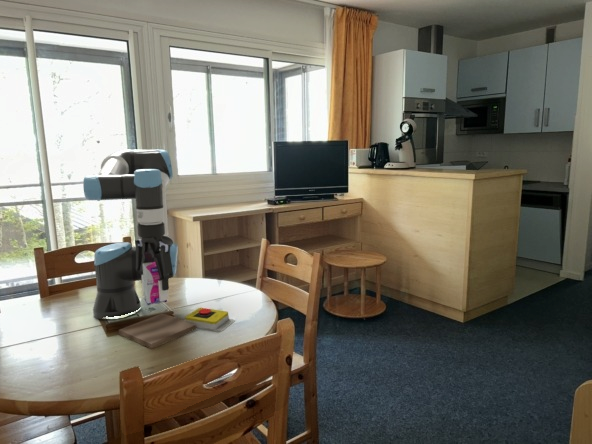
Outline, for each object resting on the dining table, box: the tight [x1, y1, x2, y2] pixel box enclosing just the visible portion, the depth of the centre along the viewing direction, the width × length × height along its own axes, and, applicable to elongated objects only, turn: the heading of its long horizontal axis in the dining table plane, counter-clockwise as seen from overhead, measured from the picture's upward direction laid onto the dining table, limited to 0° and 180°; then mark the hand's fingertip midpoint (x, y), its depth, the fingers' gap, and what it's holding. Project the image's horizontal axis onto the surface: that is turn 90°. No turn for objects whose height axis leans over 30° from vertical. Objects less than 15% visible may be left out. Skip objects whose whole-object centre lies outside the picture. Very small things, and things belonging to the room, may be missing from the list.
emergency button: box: [184, 307, 236, 332], centre depth 138 cm, size 9×4×15 cm
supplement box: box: [143, 262, 168, 306], centre depth 129 cm, size 6×6×12 cm
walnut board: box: [118, 313, 197, 350], centre depth 131 cm, size 16×16×2 cm
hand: (155, 297), depth 130 cm, fingers closed on supplement box, 7 cm apart
